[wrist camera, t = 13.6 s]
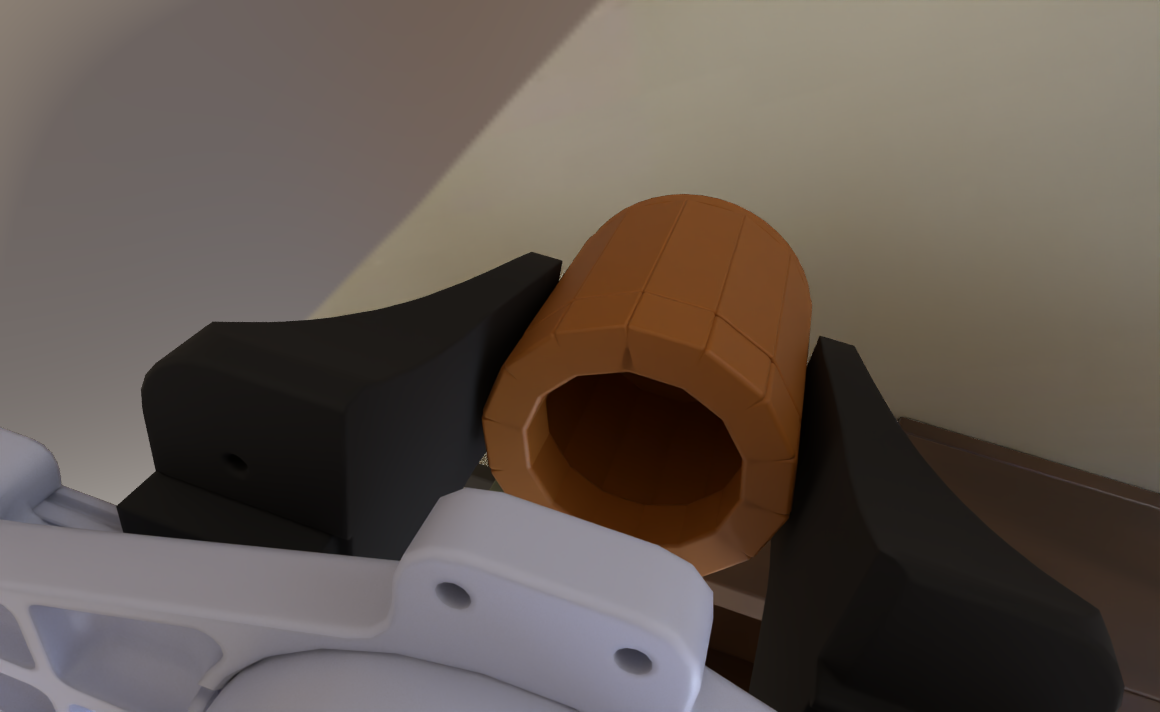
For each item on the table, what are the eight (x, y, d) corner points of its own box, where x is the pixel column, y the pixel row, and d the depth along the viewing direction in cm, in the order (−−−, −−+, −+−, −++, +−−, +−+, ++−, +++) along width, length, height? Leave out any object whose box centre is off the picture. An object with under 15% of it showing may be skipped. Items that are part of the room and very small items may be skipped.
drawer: (410, 542, 31) (320, 683, 26) (421, 304, 25) (304, 428, 19) (867, 703, 29) (871, 898, 23) (1016, 486, 22) (1068, 687, 17)
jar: (593, 163, 14) (494, 284, 10) (851, 233, 14) (849, 391, 10) (558, 364, 17) (467, 521, 13) (770, 430, 17) (744, 618, 12)
